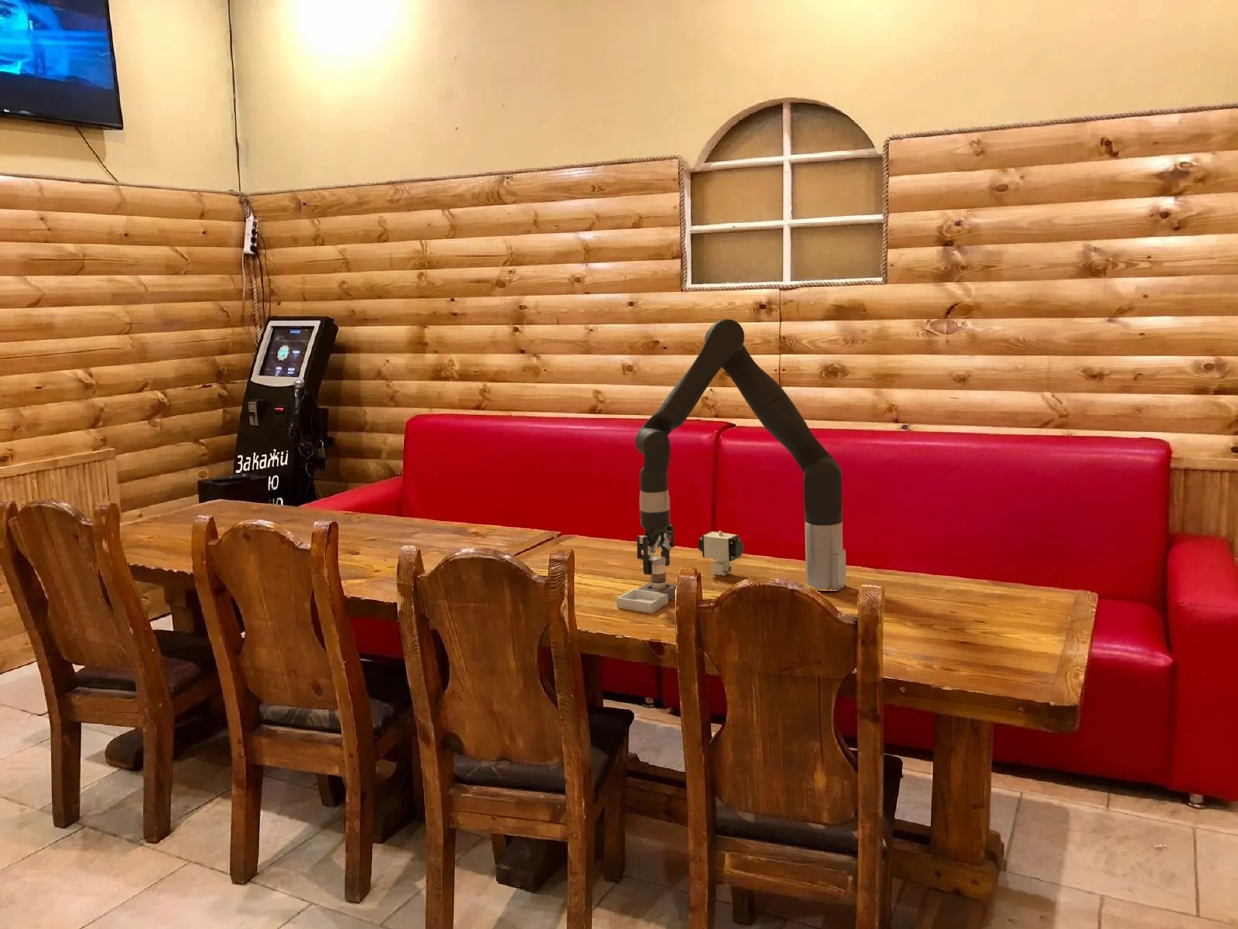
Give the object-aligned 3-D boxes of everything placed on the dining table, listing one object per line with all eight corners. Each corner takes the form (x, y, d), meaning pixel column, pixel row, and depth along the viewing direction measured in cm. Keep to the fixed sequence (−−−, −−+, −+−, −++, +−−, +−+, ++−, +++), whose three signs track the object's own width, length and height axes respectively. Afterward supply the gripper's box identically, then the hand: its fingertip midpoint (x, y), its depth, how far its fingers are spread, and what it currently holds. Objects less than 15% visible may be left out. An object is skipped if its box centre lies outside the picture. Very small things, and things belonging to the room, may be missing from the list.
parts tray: (668, 603, 235) (667, 593, 234) (651, 613, 228) (651, 603, 228) (634, 598, 240) (633, 588, 240) (616, 607, 233) (616, 598, 233)
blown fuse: (669, 594, 241) (668, 557, 239) (661, 599, 238) (660, 561, 236) (656, 592, 243) (654, 555, 241) (648, 597, 240) (646, 559, 238)
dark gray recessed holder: (679, 594, 241) (679, 584, 241) (665, 602, 235) (665, 592, 235) (652, 590, 246) (652, 580, 245) (638, 598, 240) (638, 588, 239)
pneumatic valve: (736, 579, 251) (734, 535, 249) (698, 573, 258) (697, 530, 256) (746, 573, 255) (745, 530, 253) (709, 568, 262) (707, 526, 260)
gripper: (652, 515, 229) (654, 579, 232) (681, 503, 240) (683, 564, 243) (626, 512, 233) (629, 575, 236) (656, 500, 245) (658, 560, 247)
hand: (656, 569), depth 240 cm, fingers open, 8 cm apart
